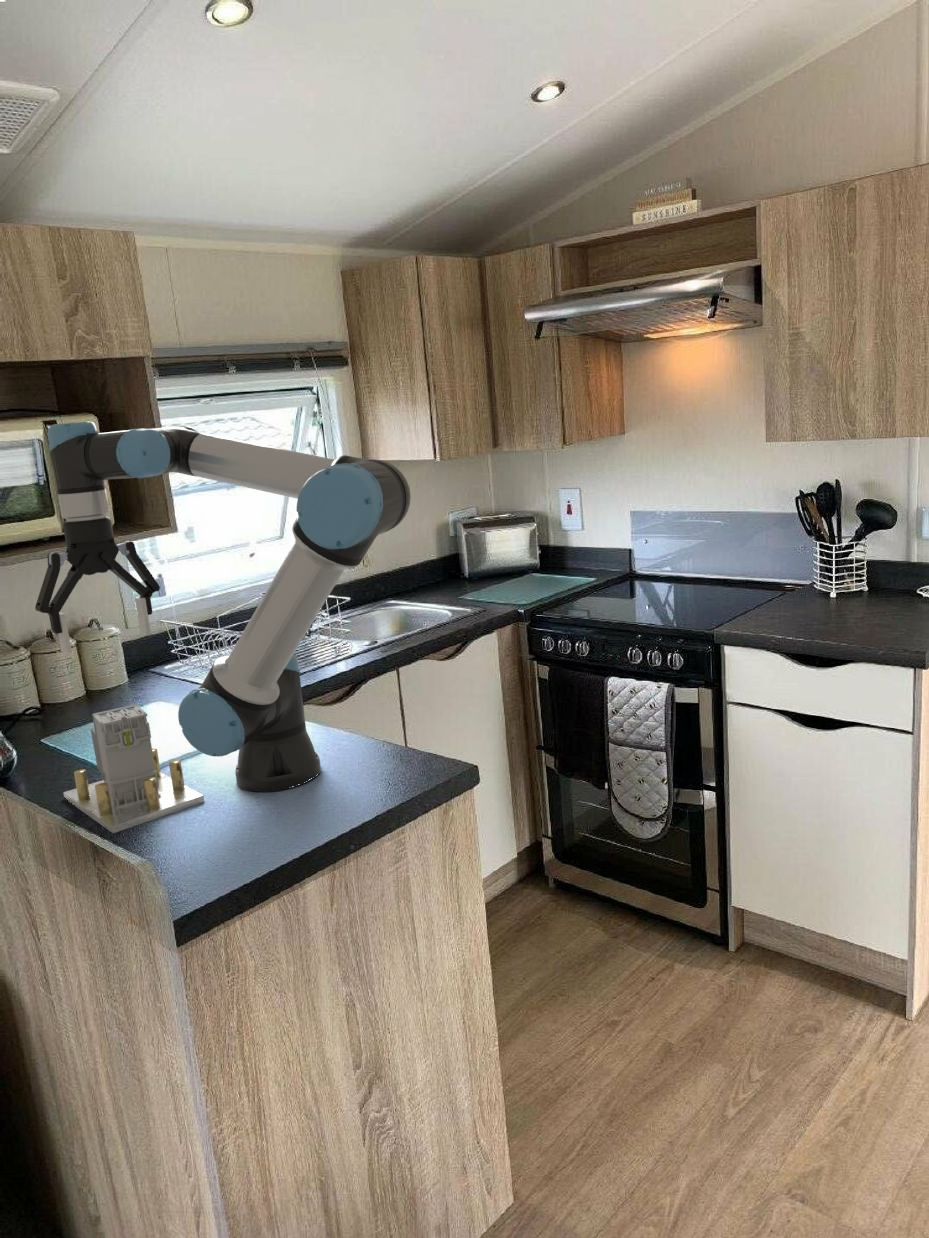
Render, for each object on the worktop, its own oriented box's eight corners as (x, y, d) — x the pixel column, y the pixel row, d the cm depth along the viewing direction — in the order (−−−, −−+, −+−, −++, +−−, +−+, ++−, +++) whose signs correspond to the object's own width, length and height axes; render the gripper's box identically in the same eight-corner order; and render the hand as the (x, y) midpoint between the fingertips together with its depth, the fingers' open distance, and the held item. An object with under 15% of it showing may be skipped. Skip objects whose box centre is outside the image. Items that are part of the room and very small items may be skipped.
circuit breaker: (141, 774, 179) (128, 696, 176) (160, 796, 167) (147, 714, 164) (99, 785, 175) (85, 706, 172) (116, 809, 163) (101, 724, 160)
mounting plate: (204, 801, 166) (199, 767, 165) (113, 833, 156) (106, 797, 155) (149, 771, 183) (144, 740, 182) (64, 798, 173) (58, 765, 172)
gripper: (149, 507, 170) (167, 625, 174) (-1, 527, 154) (23, 656, 159) (167, 508, 164) (185, 629, 169) (14, 529, 149) (38, 662, 153)
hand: (107, 643), depth 164 cm, fingers open, 13 cm apart
